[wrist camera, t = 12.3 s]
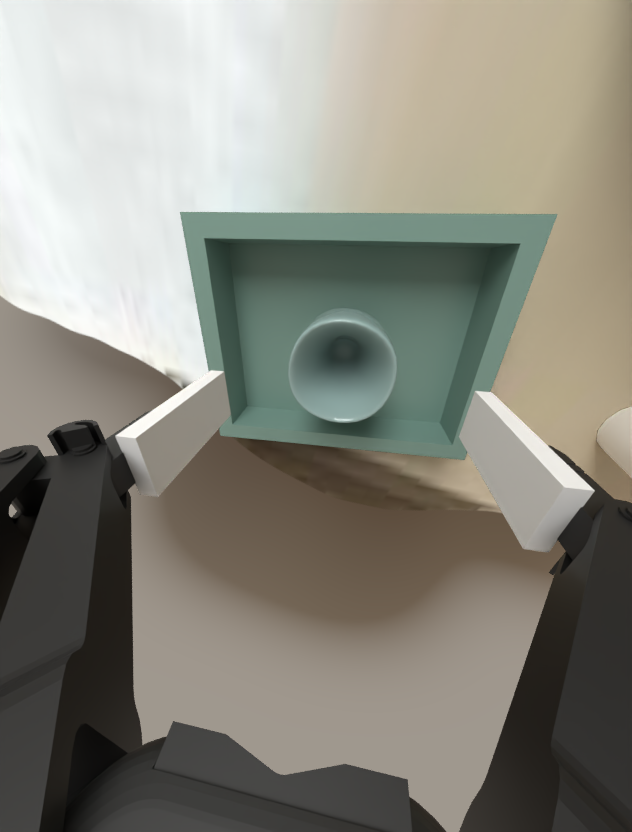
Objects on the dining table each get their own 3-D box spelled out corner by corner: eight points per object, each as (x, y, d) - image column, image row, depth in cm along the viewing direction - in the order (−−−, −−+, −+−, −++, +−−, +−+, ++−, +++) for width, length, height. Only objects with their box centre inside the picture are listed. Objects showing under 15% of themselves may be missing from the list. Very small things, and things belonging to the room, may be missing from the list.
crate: (510, 227, 22) (557, 214, 17) (446, 429, 32) (464, 459, 27) (217, 224, 25) (180, 212, 20) (240, 410, 35) (220, 435, 29)
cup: (302, 368, 29) (279, 410, 20) (316, 293, 25) (296, 304, 16) (370, 385, 29) (377, 435, 20) (396, 312, 25) (417, 334, 16)
